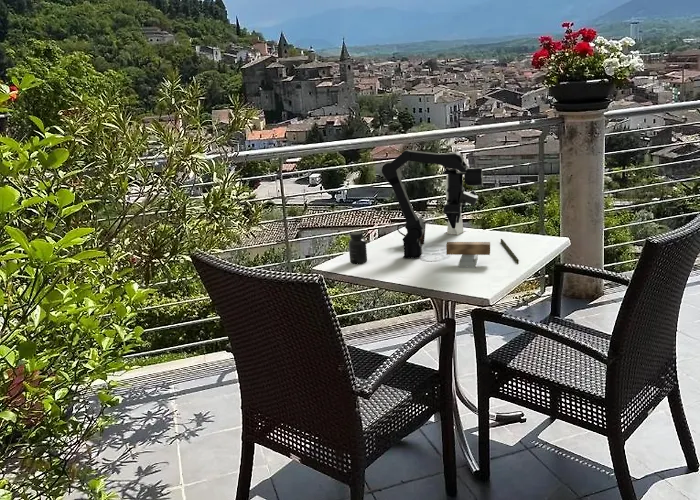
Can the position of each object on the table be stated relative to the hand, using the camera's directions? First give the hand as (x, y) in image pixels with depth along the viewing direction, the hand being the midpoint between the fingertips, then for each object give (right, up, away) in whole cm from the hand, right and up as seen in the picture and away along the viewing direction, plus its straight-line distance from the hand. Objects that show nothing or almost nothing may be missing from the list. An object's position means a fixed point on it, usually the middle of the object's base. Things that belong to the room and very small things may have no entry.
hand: (455, 225), depth 263 cm
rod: (+22, -11, +5) cm, 25 cm away
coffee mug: (-14, -7, +27) cm, 31 cm away
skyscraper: (+6, -2, +40) cm, 41 cm away
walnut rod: (+4, -11, -8) cm, 14 cm away
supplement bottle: (-38, -15, +5) cm, 41 cm away
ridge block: (+4, -15, -6) cm, 17 cm away
